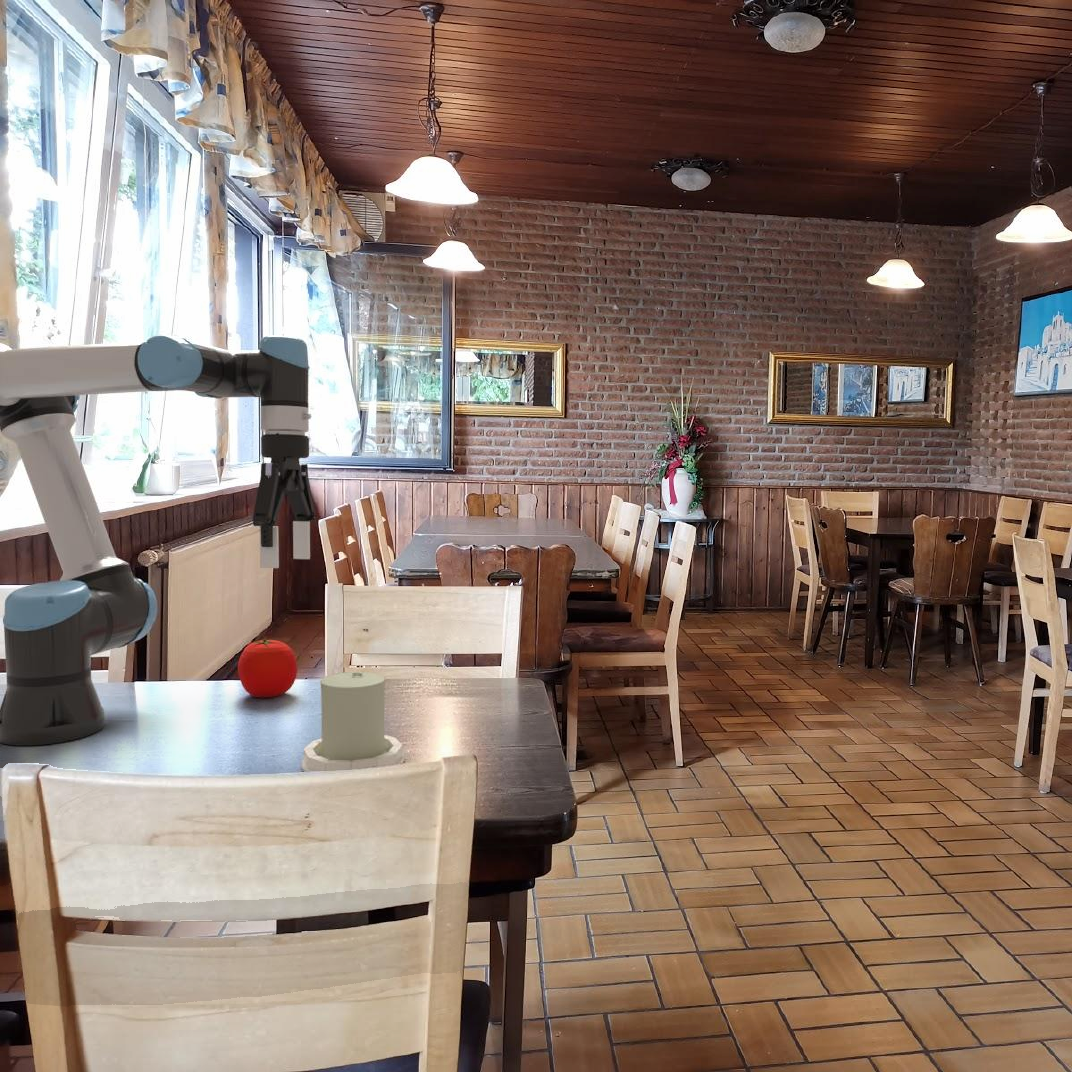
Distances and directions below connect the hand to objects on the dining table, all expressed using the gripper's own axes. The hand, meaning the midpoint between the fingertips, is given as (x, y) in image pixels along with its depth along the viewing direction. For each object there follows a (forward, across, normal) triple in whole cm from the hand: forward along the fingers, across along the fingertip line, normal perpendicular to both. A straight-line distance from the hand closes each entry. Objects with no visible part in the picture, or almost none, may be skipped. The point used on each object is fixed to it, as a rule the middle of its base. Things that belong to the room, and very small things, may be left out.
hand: (286, 563), depth 138 cm
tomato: (+27, +15, +10) cm, 32 cm away
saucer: (+27, -18, -17) cm, 36 cm away
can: (+26, -18, -17) cm, 36 cm away
